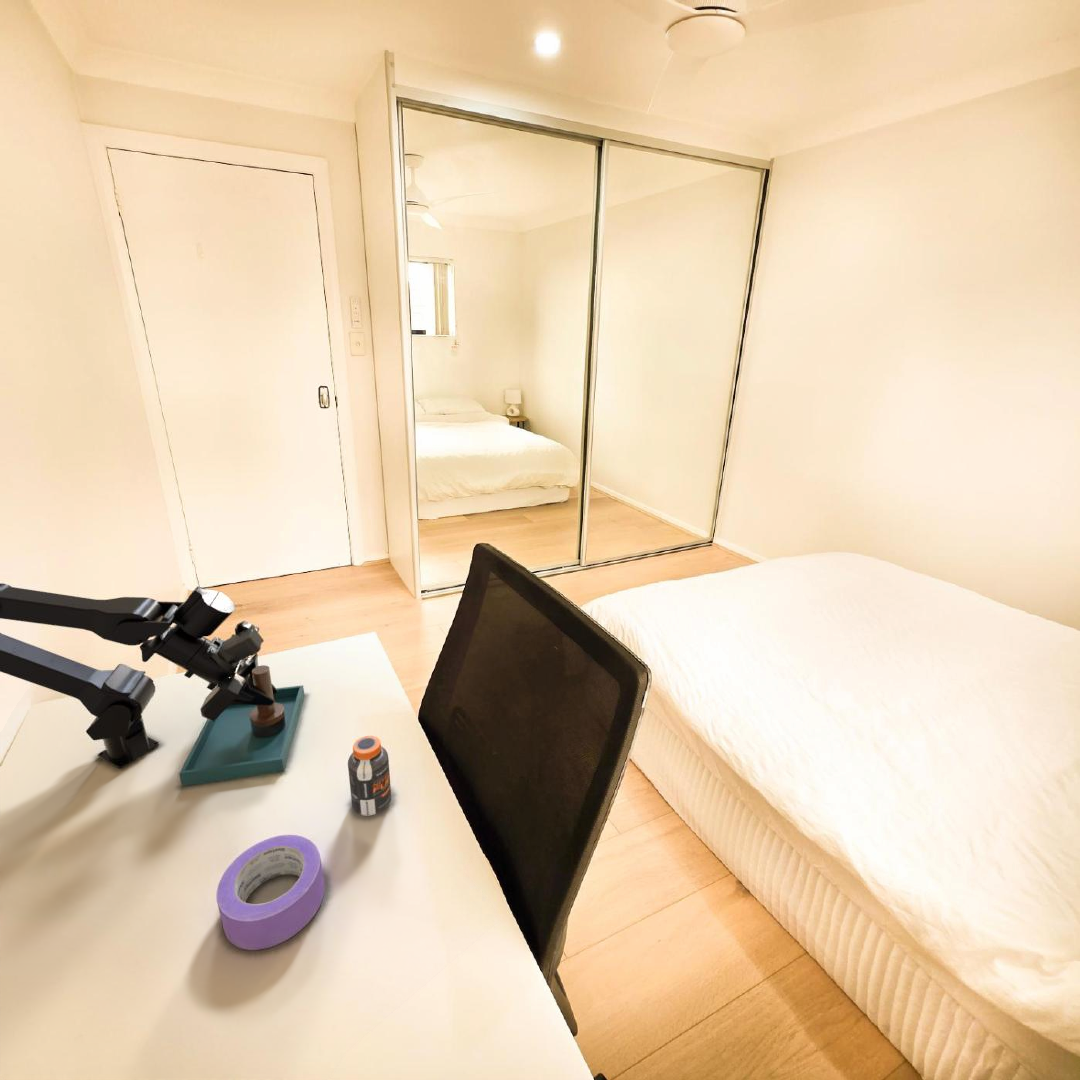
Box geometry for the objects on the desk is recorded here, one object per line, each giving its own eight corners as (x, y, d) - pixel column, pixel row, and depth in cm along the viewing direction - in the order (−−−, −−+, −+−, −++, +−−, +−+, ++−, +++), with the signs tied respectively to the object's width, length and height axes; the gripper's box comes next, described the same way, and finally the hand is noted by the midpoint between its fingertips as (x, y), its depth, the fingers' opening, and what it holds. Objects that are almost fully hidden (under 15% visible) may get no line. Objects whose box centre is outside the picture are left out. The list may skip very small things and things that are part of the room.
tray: (284, 771, 89) (282, 759, 88) (182, 786, 85) (178, 773, 84) (304, 695, 108) (303, 685, 107) (222, 705, 105) (219, 694, 104)
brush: (254, 742, 94) (245, 682, 90) (249, 724, 99) (240, 666, 94) (288, 730, 97) (280, 672, 93) (282, 714, 102) (274, 657, 98)
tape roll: (212, 897, 68) (205, 869, 67) (305, 845, 76) (301, 818, 74) (238, 973, 60) (231, 943, 59) (339, 906, 68) (335, 878, 66)
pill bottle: (380, 820, 80) (374, 760, 76) (344, 813, 81) (337, 754, 78) (398, 790, 86) (393, 733, 82) (364, 784, 87) (358, 727, 83)
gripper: (210, 647, 81) (297, 697, 88) (239, 595, 98) (310, 641, 104) (161, 698, 81) (252, 744, 88) (198, 638, 98) (272, 680, 105)
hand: (274, 698), depth 96 cm, fingers closed on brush, 3 cm apart
